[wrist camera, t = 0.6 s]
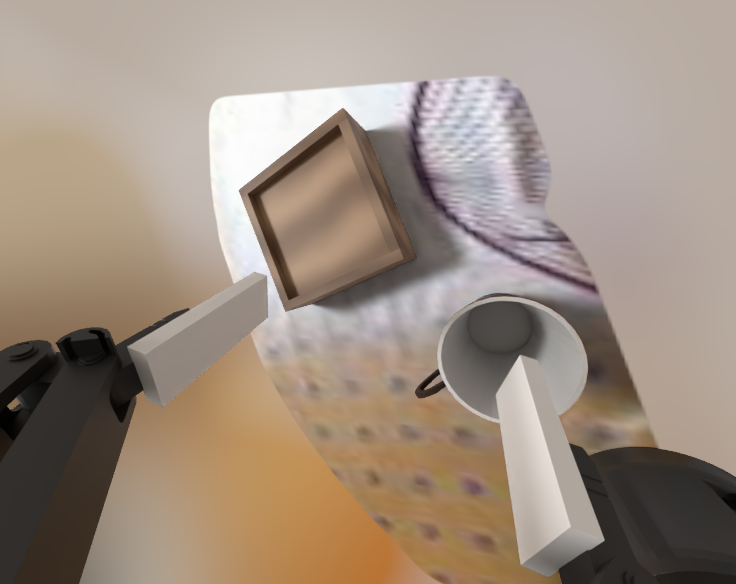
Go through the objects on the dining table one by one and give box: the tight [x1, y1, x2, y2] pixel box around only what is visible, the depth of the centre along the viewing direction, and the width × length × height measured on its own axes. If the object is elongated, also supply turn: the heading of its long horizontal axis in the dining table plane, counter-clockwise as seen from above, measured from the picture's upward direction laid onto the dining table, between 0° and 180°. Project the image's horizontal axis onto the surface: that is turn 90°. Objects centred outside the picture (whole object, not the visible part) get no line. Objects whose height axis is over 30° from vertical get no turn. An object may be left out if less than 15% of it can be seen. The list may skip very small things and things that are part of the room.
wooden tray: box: [239, 108, 417, 312], centre depth 30 cm, size 15×15×5 cm
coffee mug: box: [415, 293, 588, 424], centre depth 23 cm, size 12×9×10 cm
